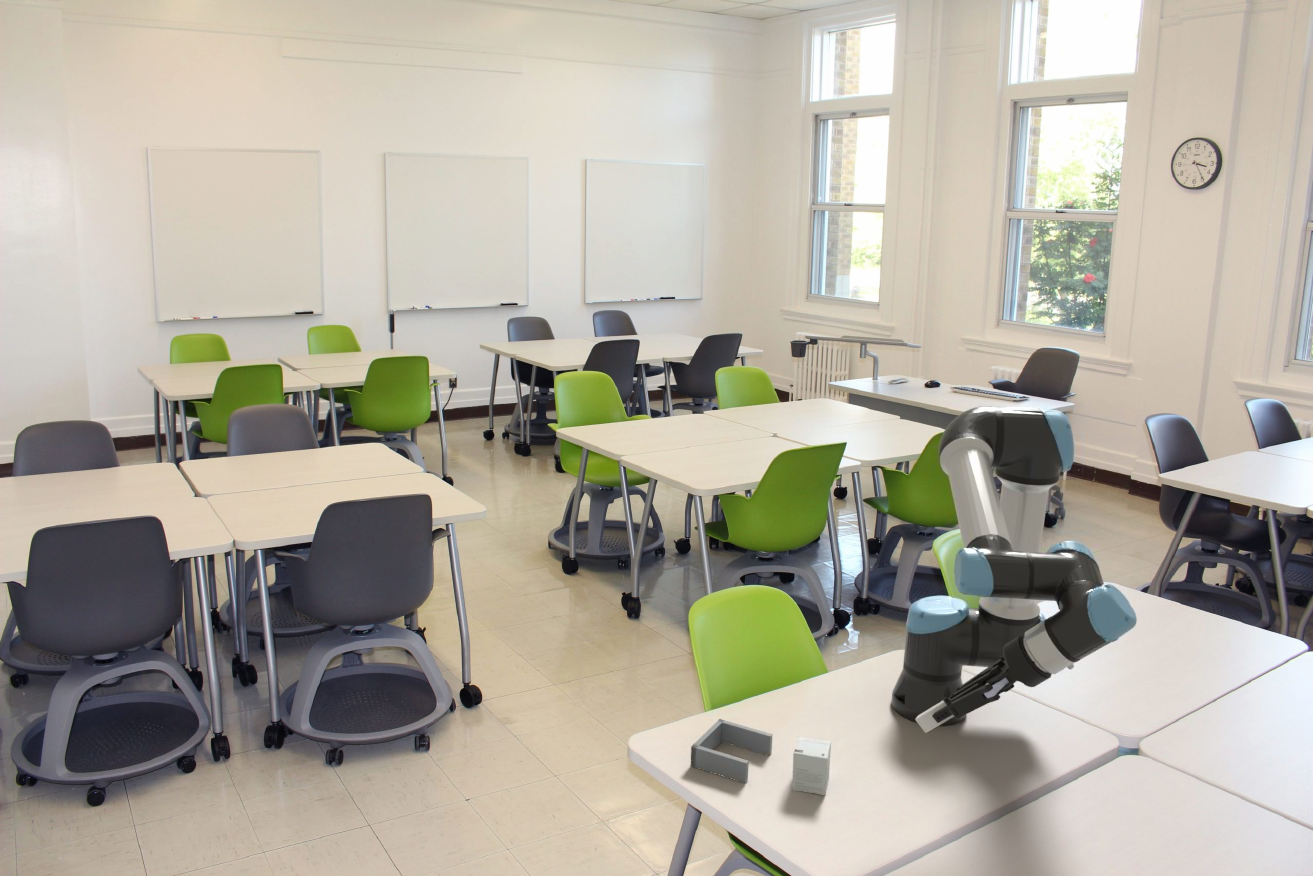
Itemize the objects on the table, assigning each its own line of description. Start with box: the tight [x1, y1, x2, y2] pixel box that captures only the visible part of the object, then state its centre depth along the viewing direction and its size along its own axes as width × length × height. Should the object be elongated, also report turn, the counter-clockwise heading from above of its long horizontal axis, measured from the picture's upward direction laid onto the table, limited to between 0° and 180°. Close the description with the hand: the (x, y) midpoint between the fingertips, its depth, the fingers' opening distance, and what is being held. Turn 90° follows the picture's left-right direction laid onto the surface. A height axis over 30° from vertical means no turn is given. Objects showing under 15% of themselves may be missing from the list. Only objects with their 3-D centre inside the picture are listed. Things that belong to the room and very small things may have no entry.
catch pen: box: [690, 718, 773, 784], centre depth 187 cm, size 12×11×4 cm
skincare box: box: [791, 736, 832, 796], centre depth 179 cm, size 6×6×7 cm
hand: (921, 724), depth 168 cm, fingers closed
